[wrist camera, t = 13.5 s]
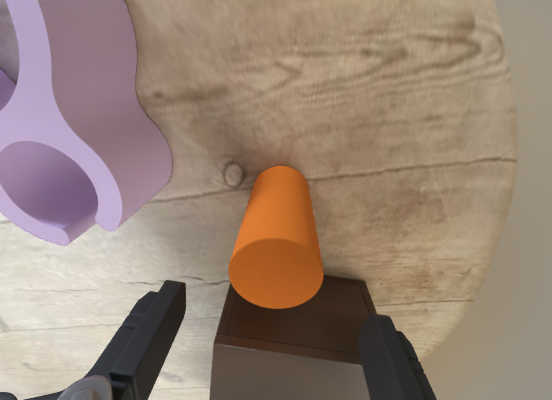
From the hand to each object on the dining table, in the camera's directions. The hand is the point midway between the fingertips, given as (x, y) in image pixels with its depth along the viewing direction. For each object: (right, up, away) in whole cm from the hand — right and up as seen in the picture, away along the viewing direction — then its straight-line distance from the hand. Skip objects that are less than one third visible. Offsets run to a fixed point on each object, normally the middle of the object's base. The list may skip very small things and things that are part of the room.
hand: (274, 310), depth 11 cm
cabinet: (+1, -9, +18) cm, 20 cm away
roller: (0, +6, +11) cm, 12 cm away
